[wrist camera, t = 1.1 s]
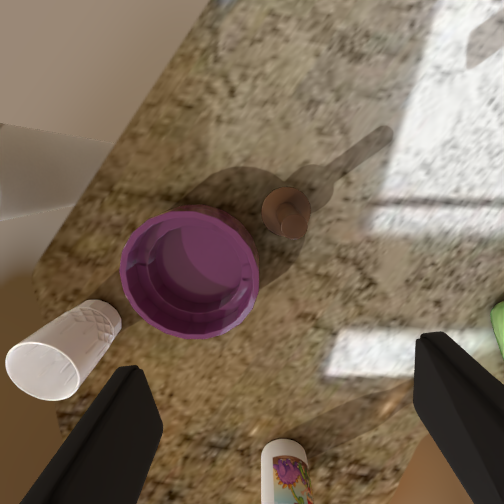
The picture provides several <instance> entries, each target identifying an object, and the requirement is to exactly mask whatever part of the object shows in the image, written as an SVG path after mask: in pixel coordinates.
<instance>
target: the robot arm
mask: <svg viewBox="0 0 504 504" xmlns="http://www.w3.org/2000/svg"><path fill="white" fill-rule="evenodd" d="M413 403H414V407H415V410H416V412H417V414H418V416H419V417H420V419H421V420H422V422H423V424H424V425H425V427H426V428H427V430H428V431H429V433H430V435H431V436H432V438H433V439H434V441H435V442H436V444H437V446H438V447H439V449H440V450H441V452H442V454H443V455H444V457H445V458H446V460H447V462H448V463H449V464H450V466H451V468H452V469H453V471H454V473H455V474H456V476H457V477H458V479H459V480H460V482H461V484H462V485H463V487H464V488H465V490H466V492H467V493H468V495H469V496H470V498H471V499H472V501H473V503H474V504H504V385H503V384H502V383H501V382H500V381H499V380H498V379H496V378H495V377H494V376H492V375H491V374H490V373H489V372H488V371H487V370H486V369H485V368H484V367H482V366H481V365H480V364H479V363H478V362H477V361H476V360H475V359H474V358H472V357H471V356H470V355H469V354H468V353H467V352H466V351H465V350H464V349H462V348H461V347H460V346H459V345H458V344H457V343H456V342H455V341H454V340H452V339H451V338H450V337H449V336H448V335H447V334H446V333H444V332H441V331H440V332H431V333H423V334H421V336H420V339H417V340H416V347H415V370H414V393H413ZM162 433H163V423H162V420H161V418H160V415H159V412H158V409H157V407H156V404H155V401H154V399H153V396H152V393H151V390H150V388H149V385H148V382H147V380H146V377H145V374H144V372H143V370H142V369H139V367H138V366H137V365H132V366H123V367H119V368H117V370H116V371H115V372H114V373H113V375H112V376H111V378H110V379H109V380H108V382H107V383H106V385H105V386H104V387H103V389H102V390H101V392H100V393H99V394H98V396H97V397H96V398H95V400H94V401H93V403H92V404H91V405H90V407H89V408H88V410H87V411H86V412H85V414H84V415H83V416H82V418H81V419H80V421H79V422H78V423H77V425H76V426H75V428H74V429H73V430H72V432H71V433H70V434H69V436H68V437H67V439H66V440H65V441H64V443H63V444H62V446H61V447H60V448H59V450H58V451H57V453H56V454H55V455H54V457H53V458H52V459H51V461H50V462H49V464H48V465H47V466H46V468H45V469H44V471H43V472H42V473H41V475H40V476H39V477H38V479H37V480H36V482H35V483H34V485H33V486H32V487H31V489H30V490H29V491H28V493H27V494H26V496H25V497H24V498H23V500H22V501H21V502H20V504H136V503H137V501H138V498H139V495H140V493H141V490H142V487H143V485H144V482H145V479H146V477H147V474H148V471H149V469H150V466H151V463H152V461H153V458H154V455H155V453H156V450H157V447H158V444H159V442H160V439H161V436H162Z"/></svg>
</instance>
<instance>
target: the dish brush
mask: <svg viewBox="0 0 504 504" xmlns="http://www.w3.org/2000/svg"><path fill="white" fill-rule="evenodd" d="M310 214H311V208H310V203H309V201H308V199H307V197H306V196H305V195H304V194H303V193H302V192H301V191H299V190H298V189H295V188H292V187H280V188H277V189H275V190H273V191H272V192H270V193H269V194H268V195H267V197H266V198H265V200H264V202H263V204H262V209H261V215H262V220H263V222H264V224H265V226H266V227H267V228H268V229H269V230H270V231H271V232H272V233H274V234H276V235H280V236H285V237H286V238H288V239H292V240H295V239H299V238H301V237H302V236H304V234H305V233H306V231H307V227H308V225H307V223H308V221H309V218H310Z"/></svg>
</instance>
